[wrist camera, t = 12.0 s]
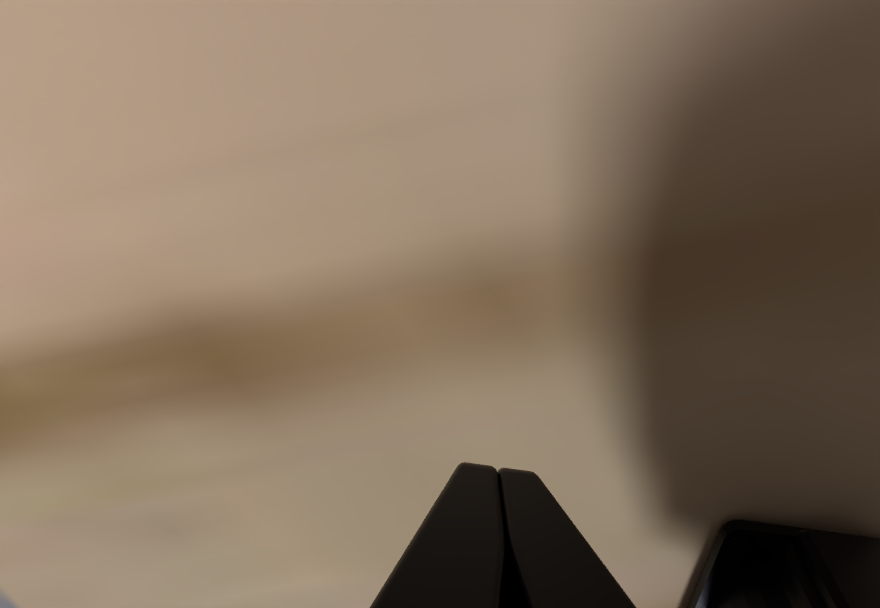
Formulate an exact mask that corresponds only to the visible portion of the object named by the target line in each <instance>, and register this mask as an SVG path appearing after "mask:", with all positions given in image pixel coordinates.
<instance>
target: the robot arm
mask: <svg viewBox="0 0 880 608" xmlns="http://www.w3.org/2000/svg"><path fill="white" fill-rule="evenodd" d="M737 536H742V537H741V538H739V539H734V538H735V537H737ZM370 608H636V607H635V605H634V604H633V603H632V601H631V600H630V599H629V597H628V596H627V595H626V593H625V592H624V591H623V589H622V588H621V587H620V585H619V584H618V583H617V581H616V580H615V578H614V577H613V576H612V574H611V573H610V572H609V570H608V569H607V568H606V566H605V565H604V564H603V562H602V561H601V560H600V558H599V557H598V556H597V554H596V553H595V552H594V550H593V549H592V548H591V546H590V545H589V544H588V542H587V541H586V540H585V538H584V537H583V536H582V534H581V533H580V532H579V530H578V529H577V528H576V526H575V525H574V524H573V522H572V521H571V520H570V518H569V517H568V515H567V514H566V513H565V511H564V510H563V509H562V507H561V506H560V505H559V503H558V502H557V501H556V499H555V498H554V497H553V495H552V494H551V493H550V491H549V490H548V489H547V487H546V486H545V485H544V483H543V482H542V481H541V479H540V478H539V477H538V476H537V475H536V474H535V473H534V472H531V471H524V470H517V469H509V468H501V469H499V471H498V472H497V471H496V469H495V468H494V467H492V466H488V465H481V464H473V463H466V462H464V463H461V464H459V465H458V466H457V468H456V469H455V471H454V473H453V474H452V476H451V478H450V479H449V481H448V482H447V484H446V486H445V487H444V489H443V490H442V492H441V494H440V495H439V497H438V499H437V500H436V502H435V503H434V505H433V507H432V508H431V510H430V511H429V513H428V515H427V516H426V518H425V519H424V521H423V523H422V524H421V526H420V528H419V529H418V531H417V532H416V534H415V536H414V537H413V539H412V540H411V542H410V544H409V545H408V547H407V549H406V550H405V552H404V553H403V555H402V557H401V558H400V560H399V561H398V563H397V565H396V566H395V568H394V569H393V571H392V573H391V574H390V576H389V578H388V579H387V581H386V582H385V584H384V586H383V587H382V589H381V590H380V592H379V594H378V595H377V597H376V599H375V600H374V602H373V603H372V605H371V607H370ZM688 608H880V539H878V538H870V537H863V536H856V535H849V534H841V533H834V532H827V531H819V530H812V529H805V528H798V527H790V526H783V525H776V524H768V523H761V522H754V521H747V520H733V521H729V522H727V523H726V524H724V525H723V526H722V527H721V529H720V530H719V533H718V535H717V537H716V540H715V542H714V545H713V547H712V550H711V552H710V555H709V557H708V559H707V562H706V564H705V567H704V569H703V572H702V574H701V576H700V579H699V581H698V584H697V586H696V589H695V591H694V594H693V596H692V598H691V601H690V603H689V606H688Z"/></svg>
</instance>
